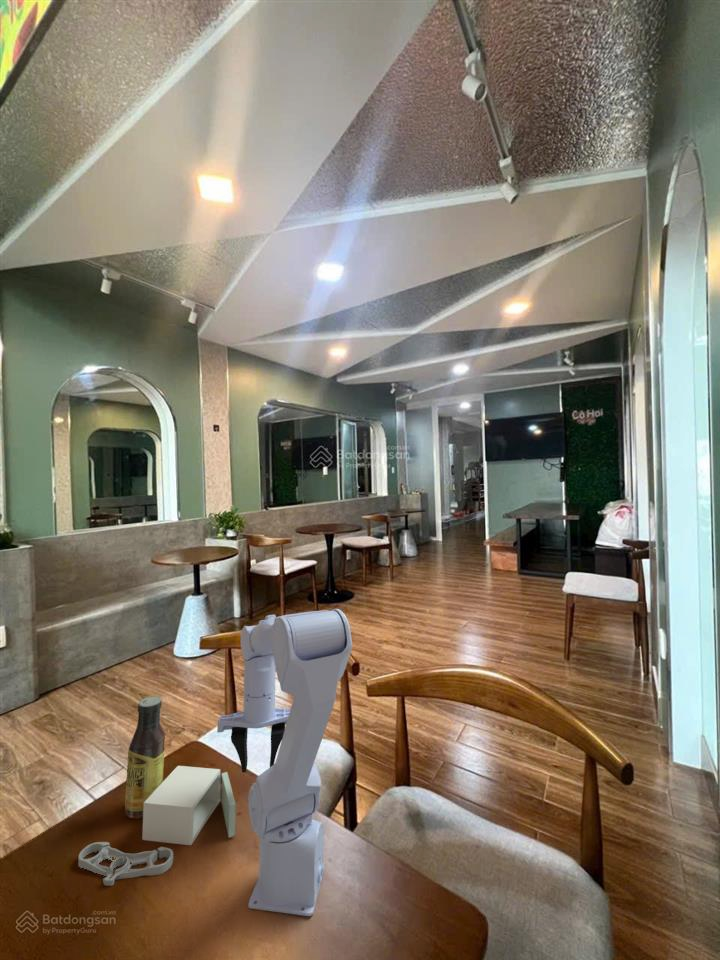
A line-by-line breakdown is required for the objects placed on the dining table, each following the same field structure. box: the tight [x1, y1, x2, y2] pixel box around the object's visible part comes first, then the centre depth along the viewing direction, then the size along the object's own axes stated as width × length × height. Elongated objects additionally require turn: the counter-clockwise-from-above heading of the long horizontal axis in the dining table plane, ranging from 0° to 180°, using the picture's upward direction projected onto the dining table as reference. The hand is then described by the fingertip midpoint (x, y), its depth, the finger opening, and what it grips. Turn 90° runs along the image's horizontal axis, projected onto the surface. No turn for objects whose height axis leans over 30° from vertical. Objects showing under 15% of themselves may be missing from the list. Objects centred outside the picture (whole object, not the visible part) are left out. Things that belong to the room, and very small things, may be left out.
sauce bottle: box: [124, 696, 166, 820], centre depth 75 cm, size 7×6×20 cm
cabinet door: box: [220, 771, 236, 838], centre depth 72 cm, size 1×10×5 cm, turn 27°
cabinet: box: [141, 765, 221, 846], centre depth 71 cm, size 9×10×6 cm
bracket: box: [77, 841, 174, 887], centre depth 62 cm, size 8×2×15 cm
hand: (258, 767), depth 71 cm, fingers open, 4 cm apart
